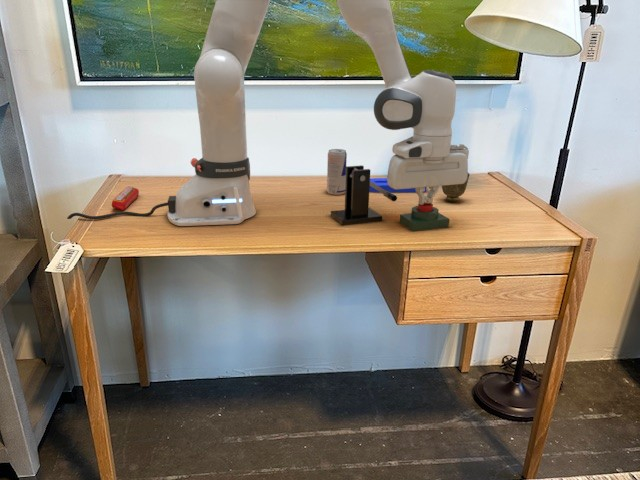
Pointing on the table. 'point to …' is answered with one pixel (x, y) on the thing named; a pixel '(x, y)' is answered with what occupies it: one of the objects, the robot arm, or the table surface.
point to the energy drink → (336, 171)
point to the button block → (424, 220)
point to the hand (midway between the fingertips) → (425, 204)
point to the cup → (454, 191)
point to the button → (425, 208)
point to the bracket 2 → (384, 185)
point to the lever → (381, 190)
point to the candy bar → (125, 198)
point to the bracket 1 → (356, 199)
